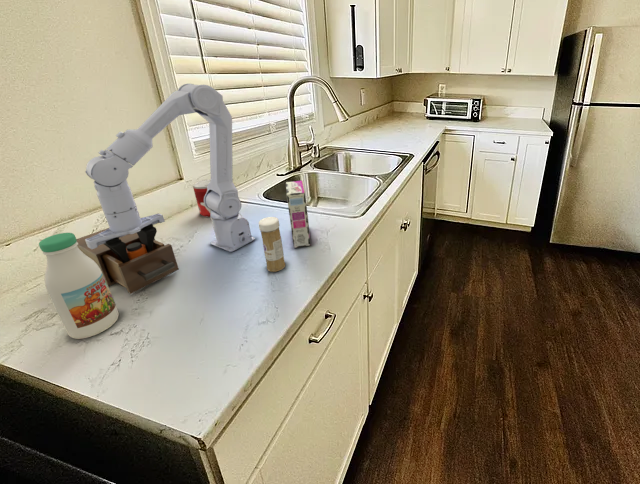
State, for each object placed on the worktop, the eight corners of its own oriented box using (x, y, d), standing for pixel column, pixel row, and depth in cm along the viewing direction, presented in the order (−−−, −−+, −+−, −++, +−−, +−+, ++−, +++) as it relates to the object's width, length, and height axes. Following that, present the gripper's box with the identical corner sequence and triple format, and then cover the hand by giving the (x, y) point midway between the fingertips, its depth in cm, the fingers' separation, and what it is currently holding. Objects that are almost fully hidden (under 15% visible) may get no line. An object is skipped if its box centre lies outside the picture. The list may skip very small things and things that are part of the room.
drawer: (188, 274, 79) (181, 249, 77) (140, 300, 71) (130, 272, 68) (152, 256, 87) (144, 233, 84) (104, 278, 78) (94, 253, 76)
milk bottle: (62, 346, 60) (15, 254, 53) (77, 319, 67) (36, 233, 60) (114, 331, 64) (76, 242, 56) (124, 306, 70) (91, 224, 63)
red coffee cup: (214, 218, 110) (207, 187, 106) (194, 216, 111) (186, 186, 107) (230, 208, 117) (223, 179, 113) (211, 206, 118) (204, 178, 114)
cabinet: (162, 261, 86) (152, 232, 83) (108, 286, 77) (96, 254, 73) (136, 248, 92) (126, 221, 89) (84, 270, 83) (71, 240, 79)
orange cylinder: (145, 258, 81) (138, 239, 79) (154, 263, 79) (147, 243, 77) (126, 267, 78) (119, 247, 76) (135, 271, 76) (128, 251, 74)
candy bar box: (312, 245, 93) (305, 192, 87) (293, 249, 91) (285, 195, 85) (308, 228, 102) (302, 179, 96) (292, 231, 101) (284, 181, 95)
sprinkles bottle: (263, 269, 82) (254, 221, 77) (277, 260, 86) (269, 214, 81) (275, 274, 80) (266, 226, 75) (289, 265, 84) (282, 218, 79)
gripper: (87, 226, 65) (110, 281, 70) (164, 200, 77) (179, 249, 82) (72, 219, 69) (95, 272, 73) (148, 195, 80) (163, 243, 85)
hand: (138, 260), depth 78 cm, fingers closed on orange cylinder, 4 cm apart
